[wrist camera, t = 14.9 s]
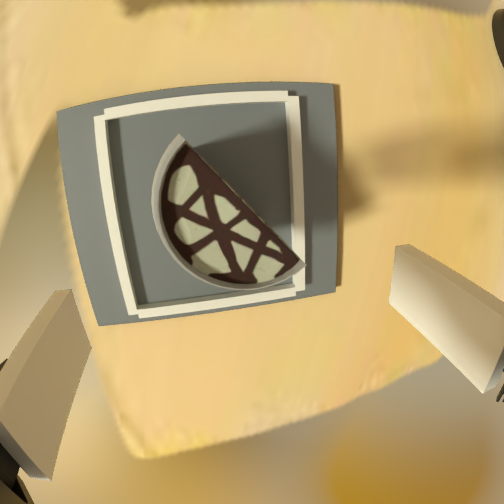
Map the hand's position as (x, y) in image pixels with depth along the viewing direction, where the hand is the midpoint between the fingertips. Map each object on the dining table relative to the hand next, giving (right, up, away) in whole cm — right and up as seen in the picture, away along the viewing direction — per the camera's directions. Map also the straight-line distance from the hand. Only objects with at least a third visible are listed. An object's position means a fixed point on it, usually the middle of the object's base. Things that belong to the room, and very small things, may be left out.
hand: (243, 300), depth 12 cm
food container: (-4, +6, +17) cm, 18 cm away
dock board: (-4, +6, +18) cm, 19 cm away
